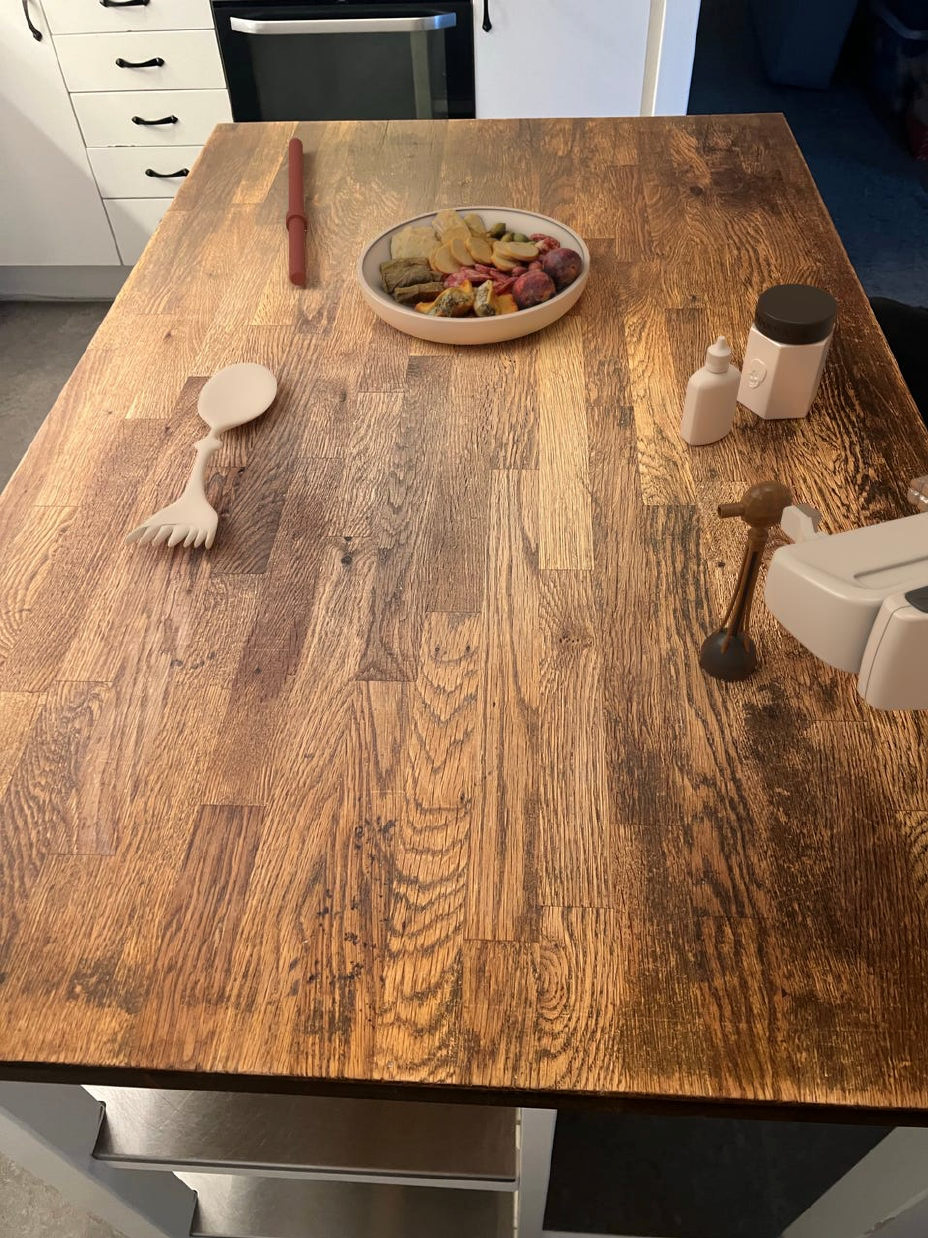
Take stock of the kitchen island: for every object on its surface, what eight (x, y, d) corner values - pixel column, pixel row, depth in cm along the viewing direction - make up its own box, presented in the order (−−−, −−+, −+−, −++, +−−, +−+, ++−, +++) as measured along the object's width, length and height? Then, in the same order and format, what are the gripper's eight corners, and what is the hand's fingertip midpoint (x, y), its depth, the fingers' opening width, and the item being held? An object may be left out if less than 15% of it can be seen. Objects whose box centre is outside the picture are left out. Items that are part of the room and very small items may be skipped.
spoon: (130, 564, 96) (119, 539, 93) (215, 379, 117) (208, 354, 114) (217, 567, 95) (209, 542, 92) (288, 380, 116) (282, 355, 113)
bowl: (325, 338, 122) (315, 280, 116) (409, 229, 141) (404, 175, 135) (553, 373, 114) (555, 313, 109) (610, 253, 133) (614, 196, 127)
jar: (721, 392, 110) (738, 296, 101) (774, 368, 113) (795, 273, 104) (776, 431, 105) (799, 334, 96) (831, 405, 108) (858, 308, 99)
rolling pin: (311, 288, 130) (307, 266, 128) (288, 290, 130) (283, 268, 128) (306, 153, 161) (303, 133, 158) (288, 155, 160) (284, 135, 158)
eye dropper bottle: (677, 422, 107) (691, 325, 98) (728, 422, 106) (747, 325, 98) (680, 446, 104) (695, 349, 95) (733, 447, 104) (753, 349, 95)
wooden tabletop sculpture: (696, 686, 82) (733, 510, 67) (681, 645, 85) (713, 469, 71) (763, 677, 83) (815, 500, 68) (745, 637, 86) (791, 459, 71)
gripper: (1199, 537, 51) (1005, 425, 61) (875, 623, 46) (723, 486, 56) (1149, 629, 55) (975, 509, 65) (846, 718, 50) (709, 573, 60)
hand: (856, 499), depth 61 cm, fingers open, 8 cm apart
